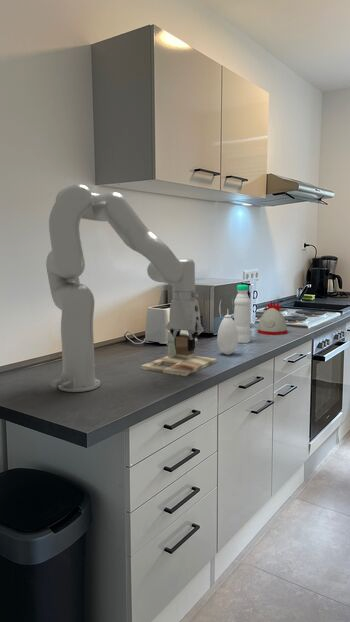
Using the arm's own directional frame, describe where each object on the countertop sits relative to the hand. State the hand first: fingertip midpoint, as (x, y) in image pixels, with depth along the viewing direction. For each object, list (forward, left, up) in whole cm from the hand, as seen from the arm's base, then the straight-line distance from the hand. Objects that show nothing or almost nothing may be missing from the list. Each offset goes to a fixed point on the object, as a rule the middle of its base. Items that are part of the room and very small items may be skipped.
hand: (184, 349), depth 163 cm
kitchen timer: (+81, 0, -8) cm, 81 cm away
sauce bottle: (+29, -2, -8) cm, 30 cm away
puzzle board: (+5, +5, -7) cm, 10 cm away
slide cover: (+12, +8, -6) cm, 15 cm away
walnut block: (0, 0, -2) cm, 2 cm away
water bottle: (+53, +3, -8) cm, 53 cm away
